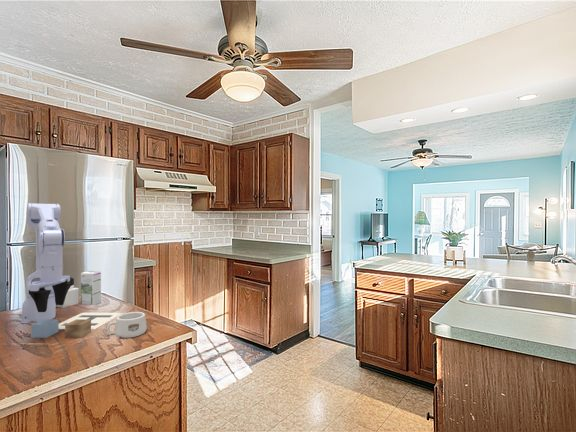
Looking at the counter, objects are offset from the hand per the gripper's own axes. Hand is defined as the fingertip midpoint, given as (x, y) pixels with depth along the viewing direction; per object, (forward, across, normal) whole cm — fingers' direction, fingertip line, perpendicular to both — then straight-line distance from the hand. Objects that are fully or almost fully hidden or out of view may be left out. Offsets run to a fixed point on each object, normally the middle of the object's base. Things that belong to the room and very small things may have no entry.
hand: (51, 308), depth 100 cm
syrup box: (+10, +38, +11) cm, 41 cm away
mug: (+10, +3, -23) cm, 25 cm away
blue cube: (+10, 0, +2) cm, 10 cm away
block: (+9, 0, -9) cm, 13 cm away
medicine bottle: (+10, +36, +21) cm, 43 cm away
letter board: (+9, +14, -3) cm, 17 cm away
